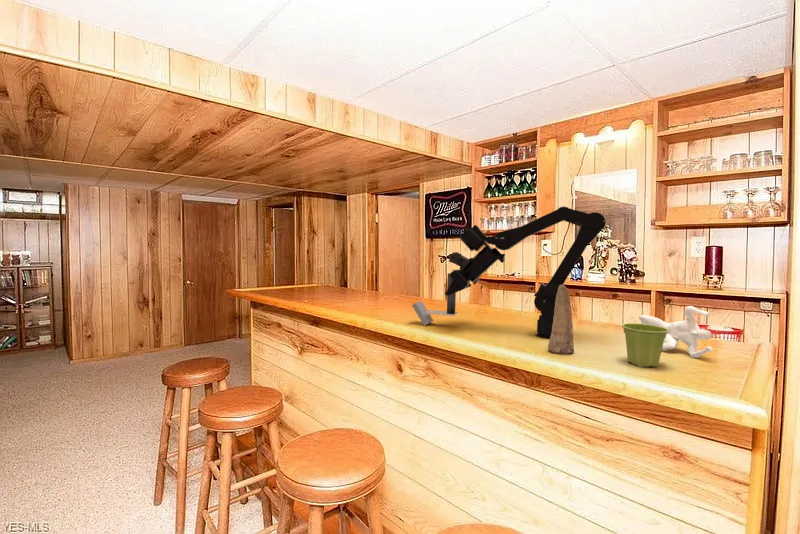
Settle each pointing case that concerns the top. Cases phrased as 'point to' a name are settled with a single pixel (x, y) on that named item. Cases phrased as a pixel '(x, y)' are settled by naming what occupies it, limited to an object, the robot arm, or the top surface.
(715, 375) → the top surface
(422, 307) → the tile
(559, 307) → the stone cone
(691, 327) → the person figurine
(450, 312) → the upright dark post
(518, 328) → the top surface
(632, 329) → the plant pot
